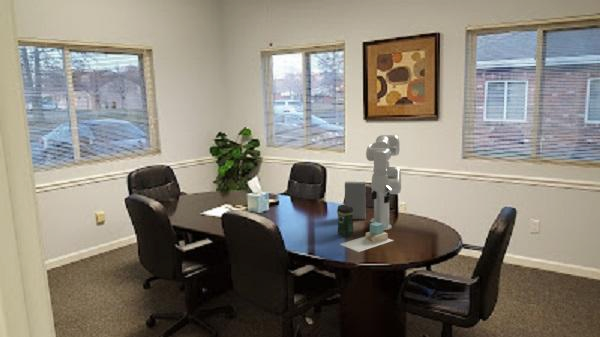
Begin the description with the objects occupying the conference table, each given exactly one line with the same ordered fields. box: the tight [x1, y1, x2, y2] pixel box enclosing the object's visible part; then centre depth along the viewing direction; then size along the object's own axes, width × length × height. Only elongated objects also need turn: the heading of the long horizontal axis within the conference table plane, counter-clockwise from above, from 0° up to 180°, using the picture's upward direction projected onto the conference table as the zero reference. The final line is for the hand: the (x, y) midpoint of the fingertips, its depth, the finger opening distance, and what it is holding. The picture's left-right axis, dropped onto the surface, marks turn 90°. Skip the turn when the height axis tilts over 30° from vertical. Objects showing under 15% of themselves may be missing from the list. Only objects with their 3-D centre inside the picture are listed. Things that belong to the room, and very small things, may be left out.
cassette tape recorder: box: [344, 181, 367, 220], centre depth 307 cm, size 14×6×25 cm, turn 80°
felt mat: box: [339, 235, 395, 253], centre depth 260 cm, size 16×28×1 cm, turn 127°
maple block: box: [365, 231, 389, 243], centre depth 264 cm, size 9×9×4 cm
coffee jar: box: [336, 204, 354, 238], centre depth 273 cm, size 10×8×19 cm
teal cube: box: [369, 222, 384, 235], centre depth 263 cm, size 6×6×6 cm
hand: (380, 200), depth 263 cm, fingers open, 9 cm apart
